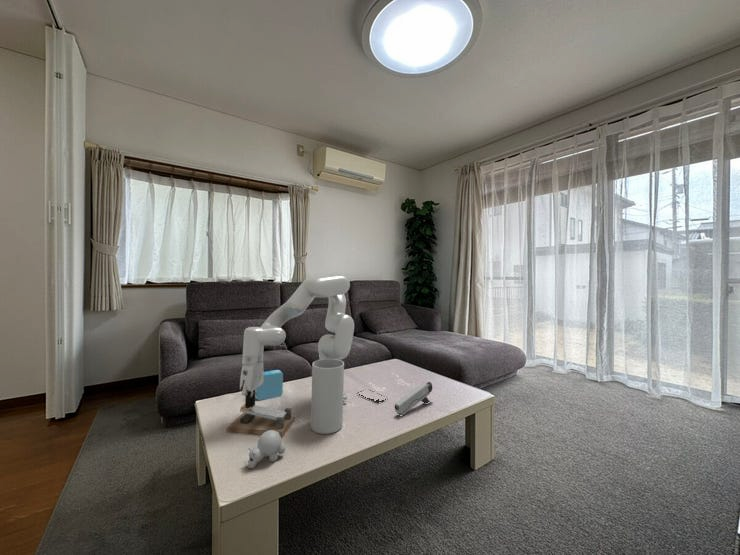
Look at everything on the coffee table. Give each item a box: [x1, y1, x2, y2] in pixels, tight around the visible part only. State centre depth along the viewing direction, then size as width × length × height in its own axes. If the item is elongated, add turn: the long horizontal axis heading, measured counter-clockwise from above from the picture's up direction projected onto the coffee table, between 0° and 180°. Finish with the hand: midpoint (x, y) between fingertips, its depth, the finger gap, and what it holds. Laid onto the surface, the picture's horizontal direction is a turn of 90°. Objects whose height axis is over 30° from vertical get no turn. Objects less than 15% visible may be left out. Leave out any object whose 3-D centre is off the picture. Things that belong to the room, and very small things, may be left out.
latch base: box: [225, 407, 296, 438], centre depth 109 cm, size 22×12×6 cm, turn 84°
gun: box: [394, 381, 433, 416], centre depth 128 cm, size 2×25×10 cm, turn 131°
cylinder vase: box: [310, 359, 345, 435], centre depth 111 cm, size 12×12×25 cm
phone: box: [356, 389, 388, 404], centre depth 139 cm, size 8×1×15 cm
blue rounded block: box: [255, 369, 284, 401], centre depth 136 cm, size 12×4×12 cm, turn 122°
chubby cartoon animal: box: [244, 430, 287, 469], centre depth 89 cm, size 7×12×8 cm, turn 135°
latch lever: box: [239, 403, 287, 420], centre depth 109 cm, size 17×5×2 cm, turn 84°
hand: (249, 405), depth 109 cm, fingers closed
